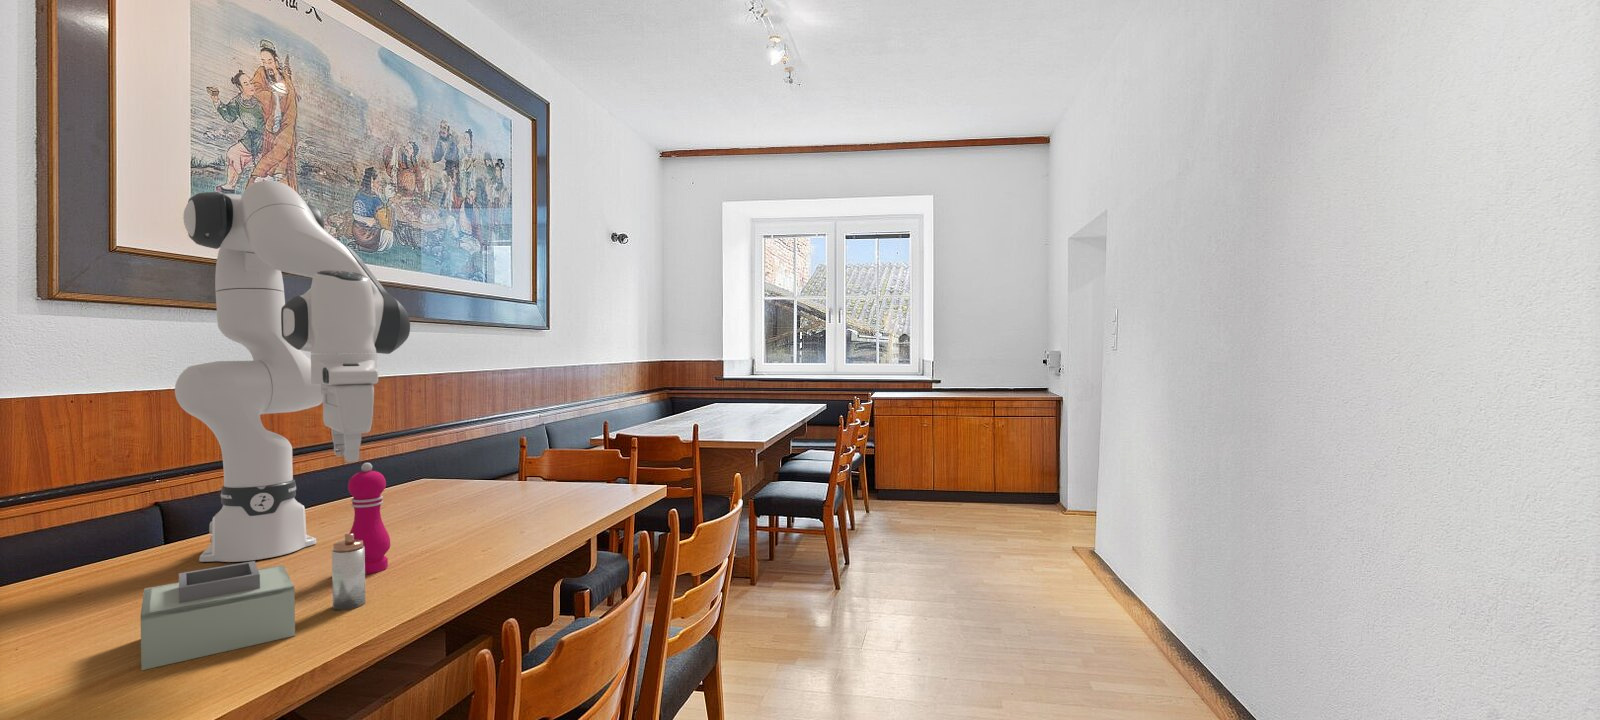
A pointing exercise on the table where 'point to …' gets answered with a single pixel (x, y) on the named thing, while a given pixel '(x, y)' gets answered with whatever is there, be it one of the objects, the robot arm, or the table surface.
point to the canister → (348, 573)
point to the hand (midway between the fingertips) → (346, 458)
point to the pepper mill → (369, 517)
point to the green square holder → (215, 612)
